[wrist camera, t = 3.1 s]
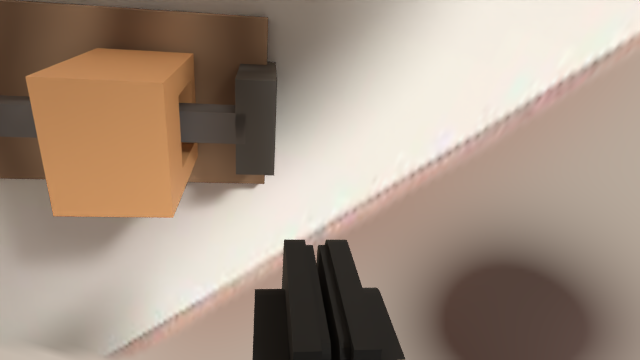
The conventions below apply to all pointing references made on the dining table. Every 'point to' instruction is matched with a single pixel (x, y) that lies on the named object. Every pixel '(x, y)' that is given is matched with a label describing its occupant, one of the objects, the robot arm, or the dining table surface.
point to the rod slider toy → (148, 35)
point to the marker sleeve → (114, 132)
